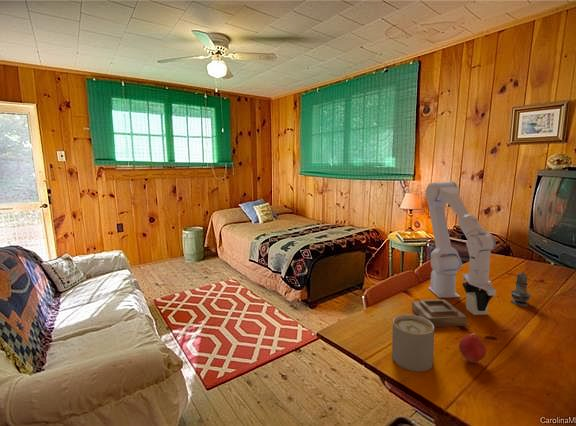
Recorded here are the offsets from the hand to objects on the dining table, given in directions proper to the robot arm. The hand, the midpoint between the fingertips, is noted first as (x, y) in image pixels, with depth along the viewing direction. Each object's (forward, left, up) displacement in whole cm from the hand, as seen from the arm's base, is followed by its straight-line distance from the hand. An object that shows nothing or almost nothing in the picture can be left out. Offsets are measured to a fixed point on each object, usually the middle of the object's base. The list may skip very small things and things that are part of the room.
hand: (476, 306), depth 102 cm
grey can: (+23, -31, -2) cm, 39 cm away
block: (0, 0, -2) cm, 2 cm away
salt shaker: (-5, +19, -2) cm, 20 cm away
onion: (+26, -18, -2) cm, 32 cm away
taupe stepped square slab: (+3, -15, -2) cm, 15 cm away
